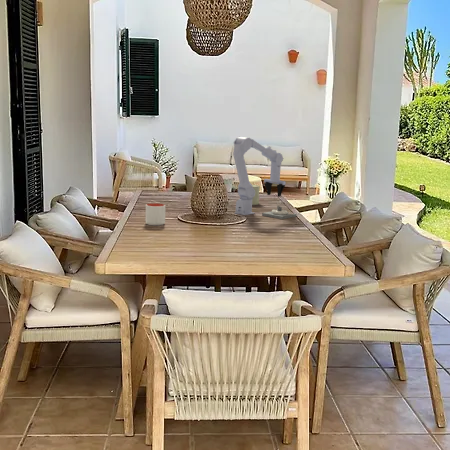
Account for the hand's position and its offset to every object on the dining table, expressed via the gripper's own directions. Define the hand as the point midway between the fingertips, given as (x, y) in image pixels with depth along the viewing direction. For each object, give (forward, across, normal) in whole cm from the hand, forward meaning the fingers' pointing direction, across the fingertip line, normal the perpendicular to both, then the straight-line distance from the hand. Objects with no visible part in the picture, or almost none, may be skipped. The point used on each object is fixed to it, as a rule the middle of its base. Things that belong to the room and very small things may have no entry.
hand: (273, 195), depth 361 cm
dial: (+8, -11, +9) cm, 16 cm away
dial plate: (+10, -12, +9) cm, 18 cm away
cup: (+10, +13, +82) cm, 84 cm away
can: (+10, +27, -13) cm, 32 cm away
